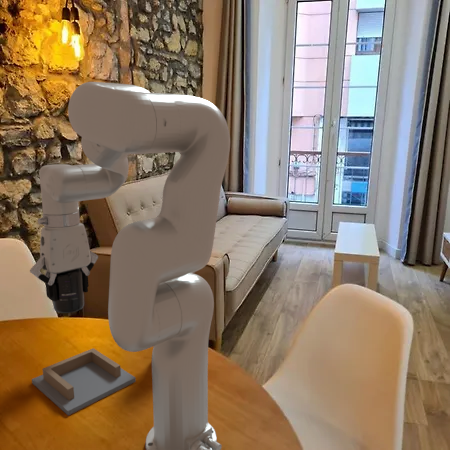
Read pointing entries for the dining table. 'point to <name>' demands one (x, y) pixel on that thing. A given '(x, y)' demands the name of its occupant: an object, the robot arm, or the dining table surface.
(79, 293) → the supplement bottle
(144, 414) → the dining table surface
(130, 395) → the dining table surface
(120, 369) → the bottle stand
